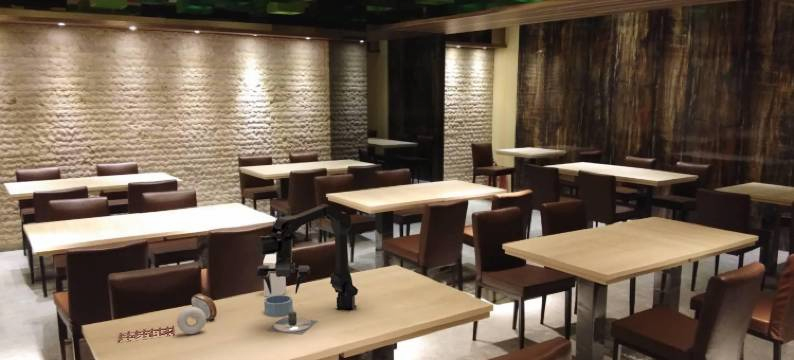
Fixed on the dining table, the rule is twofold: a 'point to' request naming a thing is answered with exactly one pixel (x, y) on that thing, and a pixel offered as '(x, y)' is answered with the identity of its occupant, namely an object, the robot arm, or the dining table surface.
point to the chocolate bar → (147, 333)
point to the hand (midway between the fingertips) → (283, 293)
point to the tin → (204, 305)
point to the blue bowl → (278, 305)
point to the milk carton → (274, 278)
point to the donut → (188, 313)
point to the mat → (292, 332)
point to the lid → (292, 323)
